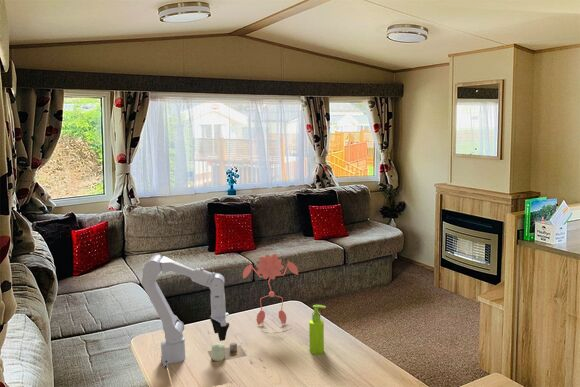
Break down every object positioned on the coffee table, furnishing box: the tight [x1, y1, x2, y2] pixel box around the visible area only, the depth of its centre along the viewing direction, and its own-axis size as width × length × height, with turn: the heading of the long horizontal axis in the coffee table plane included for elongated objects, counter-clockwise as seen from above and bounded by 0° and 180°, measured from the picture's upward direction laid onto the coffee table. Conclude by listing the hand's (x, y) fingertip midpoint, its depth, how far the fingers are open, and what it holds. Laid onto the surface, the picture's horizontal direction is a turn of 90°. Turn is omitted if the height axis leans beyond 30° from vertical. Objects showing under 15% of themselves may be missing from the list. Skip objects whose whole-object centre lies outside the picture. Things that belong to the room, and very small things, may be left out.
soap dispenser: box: [308, 304, 327, 355], centre depth 202 cm, size 6×7×20 cm
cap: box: [210, 342, 226, 362], centre depth 197 cm, size 5×5×5 cm
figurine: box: [242, 253, 299, 334], centre depth 226 cm, size 15×26×35 cm, turn 90°
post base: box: [207, 342, 247, 363], centre depth 201 cm, size 14×10×4 cm
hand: (219, 336), depth 198 cm, fingers open, 7 cm apart
